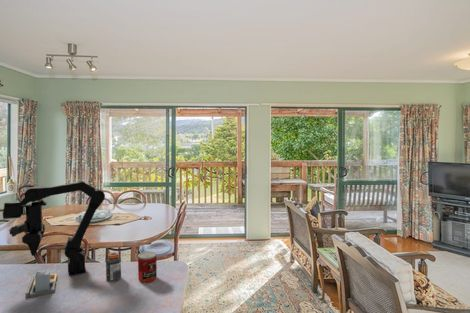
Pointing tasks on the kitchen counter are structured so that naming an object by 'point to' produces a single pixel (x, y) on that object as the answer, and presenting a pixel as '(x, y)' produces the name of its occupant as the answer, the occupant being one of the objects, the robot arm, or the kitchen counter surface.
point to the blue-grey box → (42, 281)
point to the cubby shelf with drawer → (32, 287)
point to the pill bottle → (113, 267)
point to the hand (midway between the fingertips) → (35, 251)
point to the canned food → (147, 267)
